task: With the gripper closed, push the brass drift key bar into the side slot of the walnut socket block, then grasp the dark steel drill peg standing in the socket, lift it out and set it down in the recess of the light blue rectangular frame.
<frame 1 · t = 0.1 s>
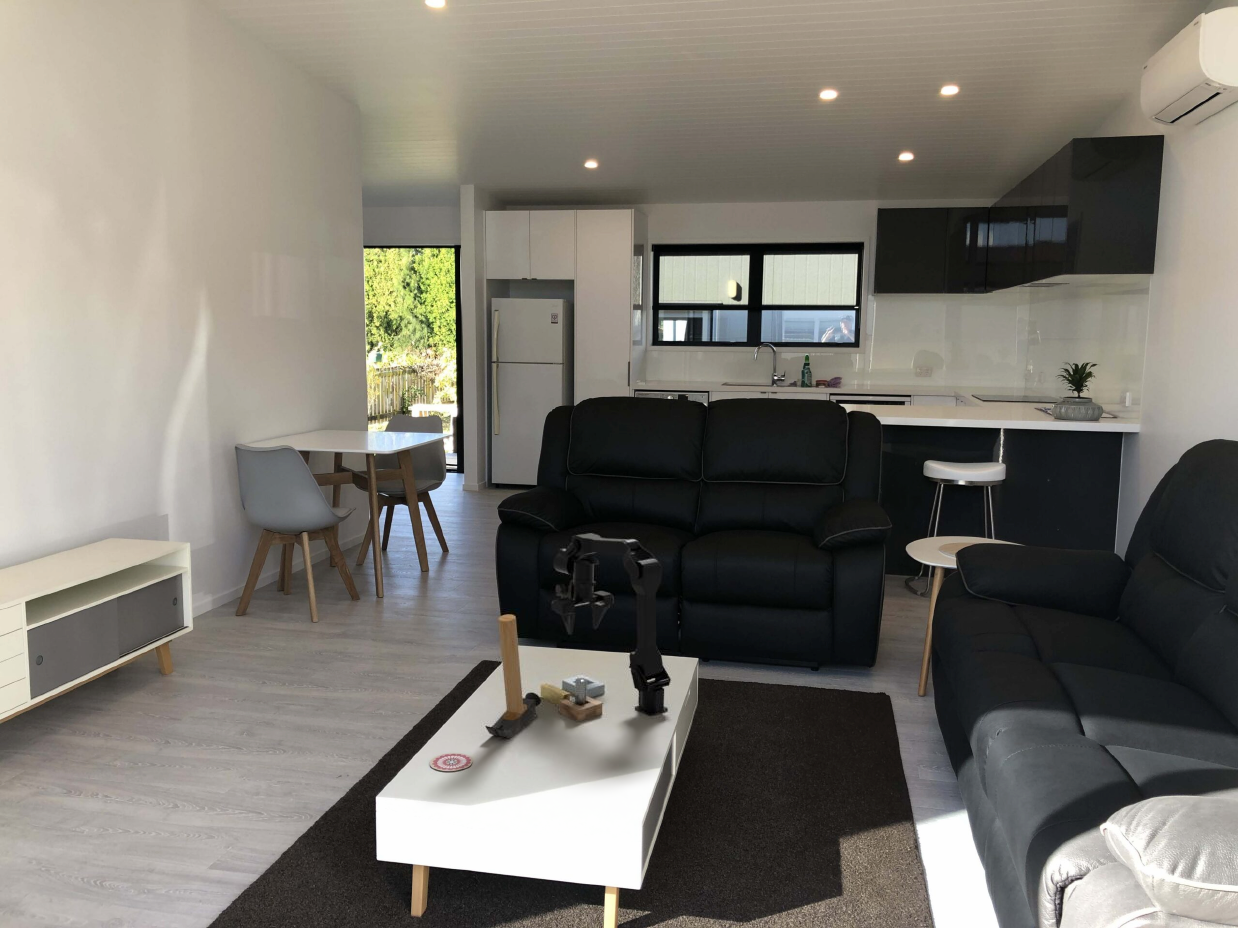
hand: (582, 631, 262), 15 cm above the table, fingers open, 9 cm apart
hammer: (514, 727, 230), on the table
drill peg: (580, 696, 239), in the socket block
light blue rectangular frame: (583, 690, 256), on the table
socket block: (580, 713, 240), on the table
drift key: (555, 695, 247), point 2 cm above the table, slide at 0.0 cm
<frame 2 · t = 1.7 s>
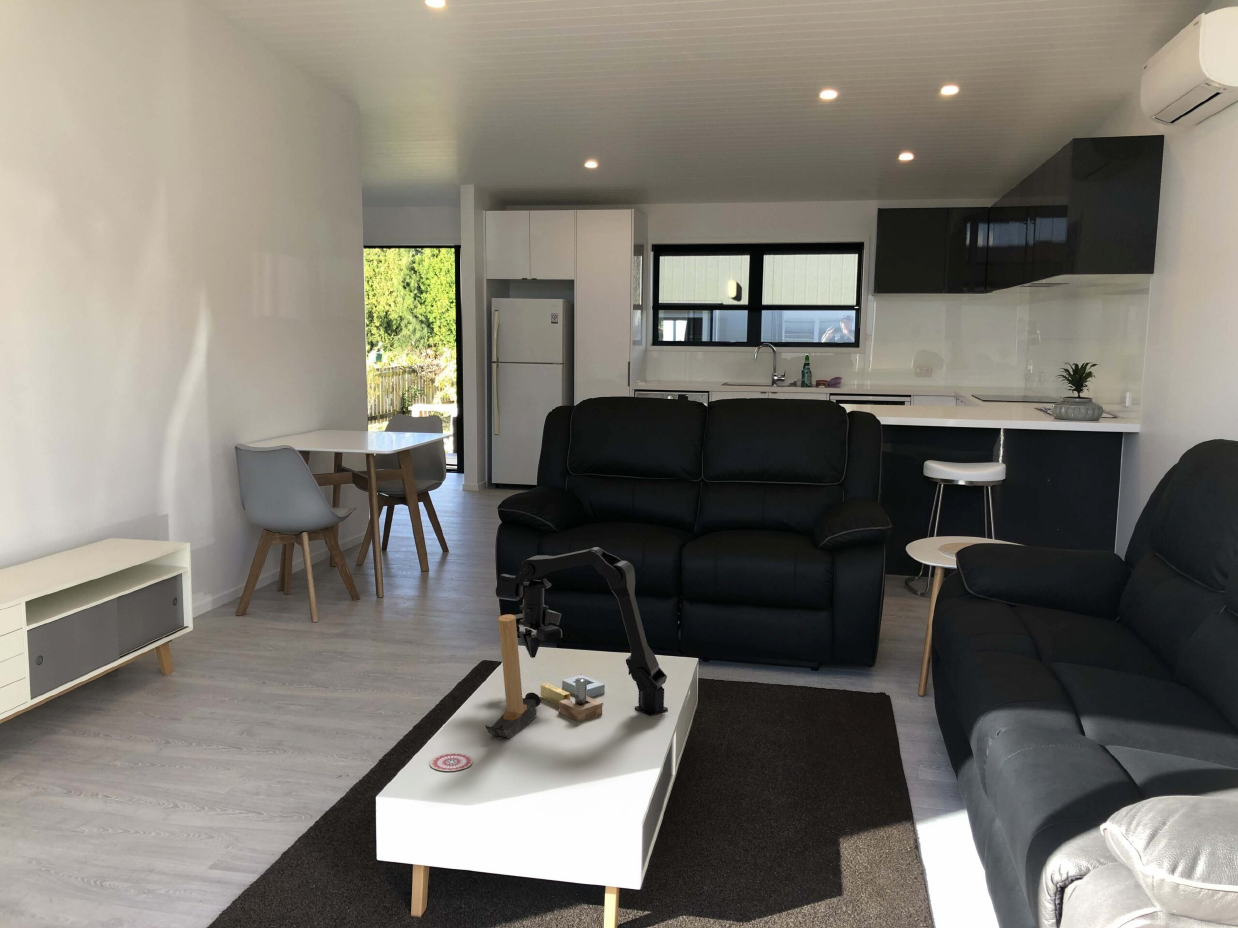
hand: (532, 657, 254), 10 cm above the table, fingers closed
nothing on the table moved.
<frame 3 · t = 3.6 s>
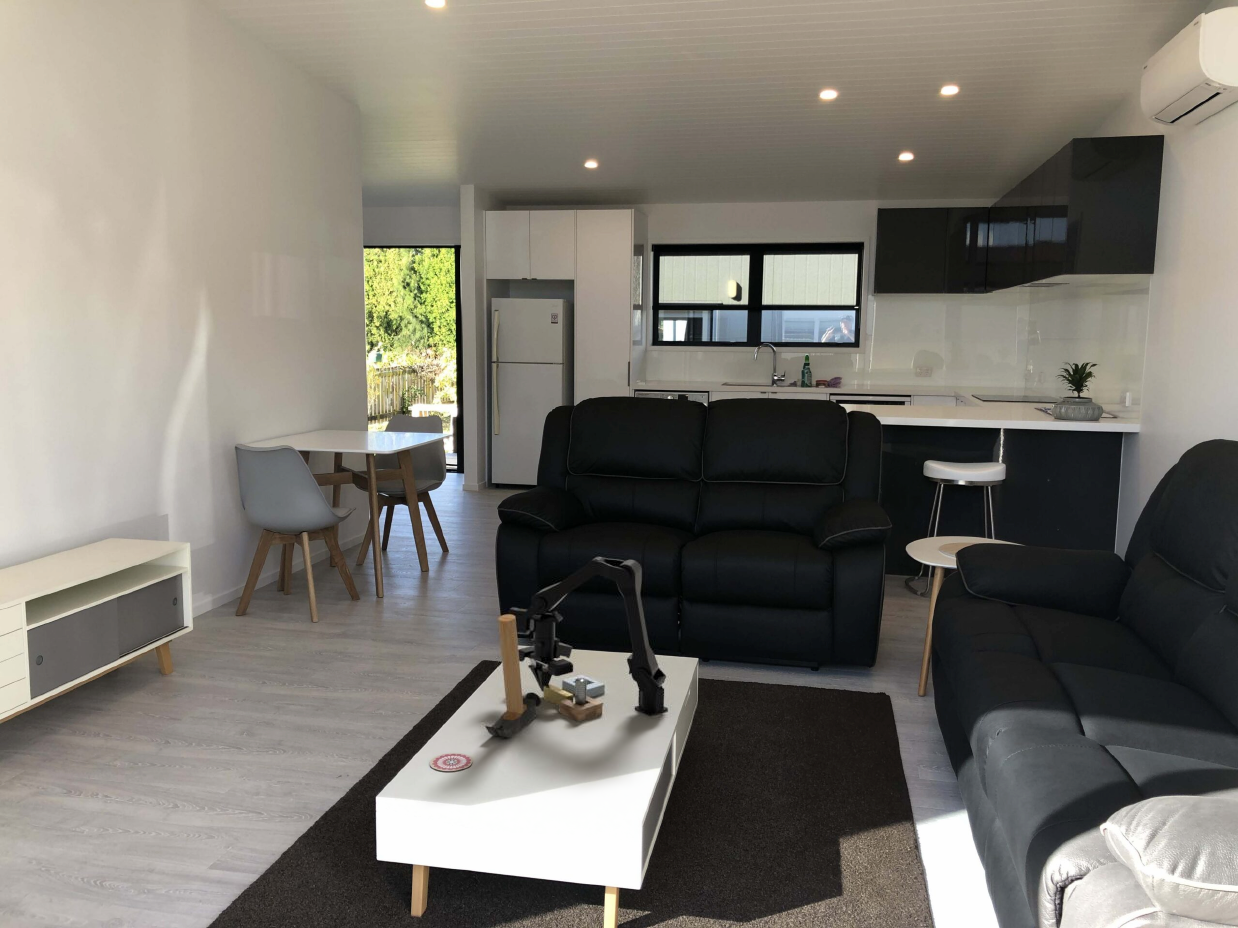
hand: (543, 691, 251), 1 cm above the table, fingers closed
drift key: (558, 696, 246), point 2 cm above the table, slide at 1.3 cm, touching gripper
everything else where it was.
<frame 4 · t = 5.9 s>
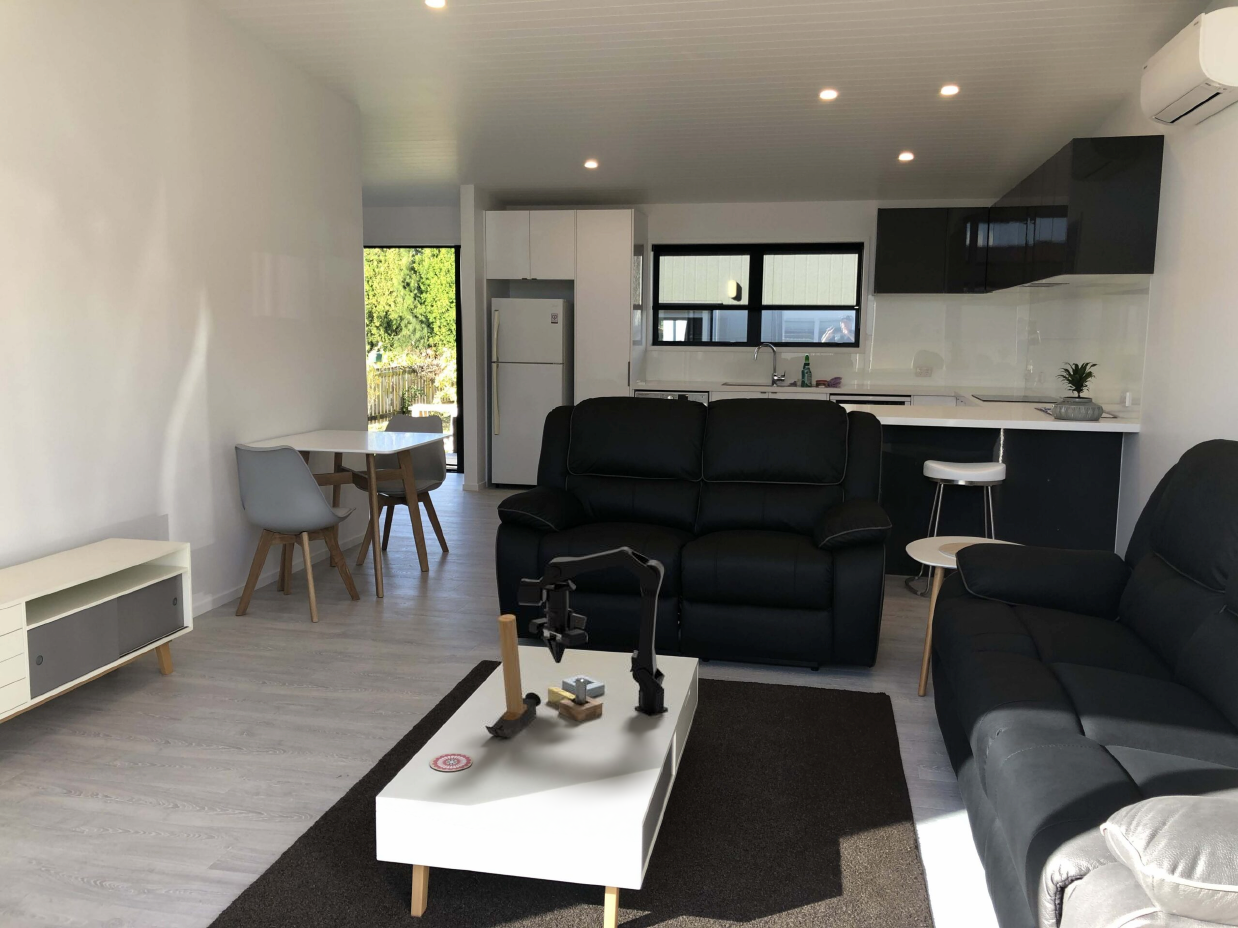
hand: (558, 662, 246), 11 cm above the table, fingers closed
drift key: (562, 698, 245), point 2 cm above the table, slide at 3.3 cm
everything else where it was.
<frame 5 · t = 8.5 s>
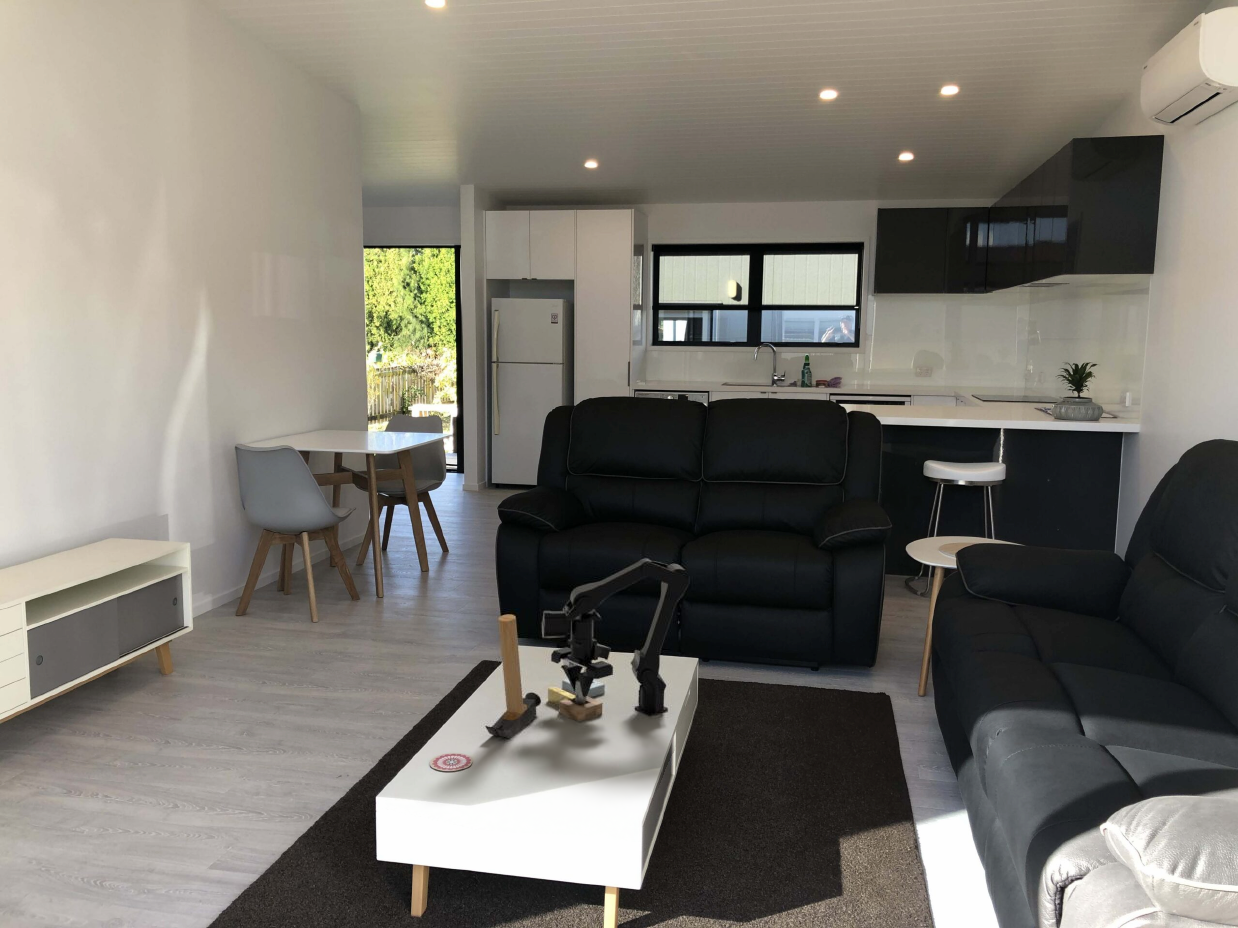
hand: (581, 694, 239), 5 cm above the table, fingers closed on drill peg, 3 cm apart
drill peg: (580, 696, 239), in the socket block, touching gripper
everything else where it was.
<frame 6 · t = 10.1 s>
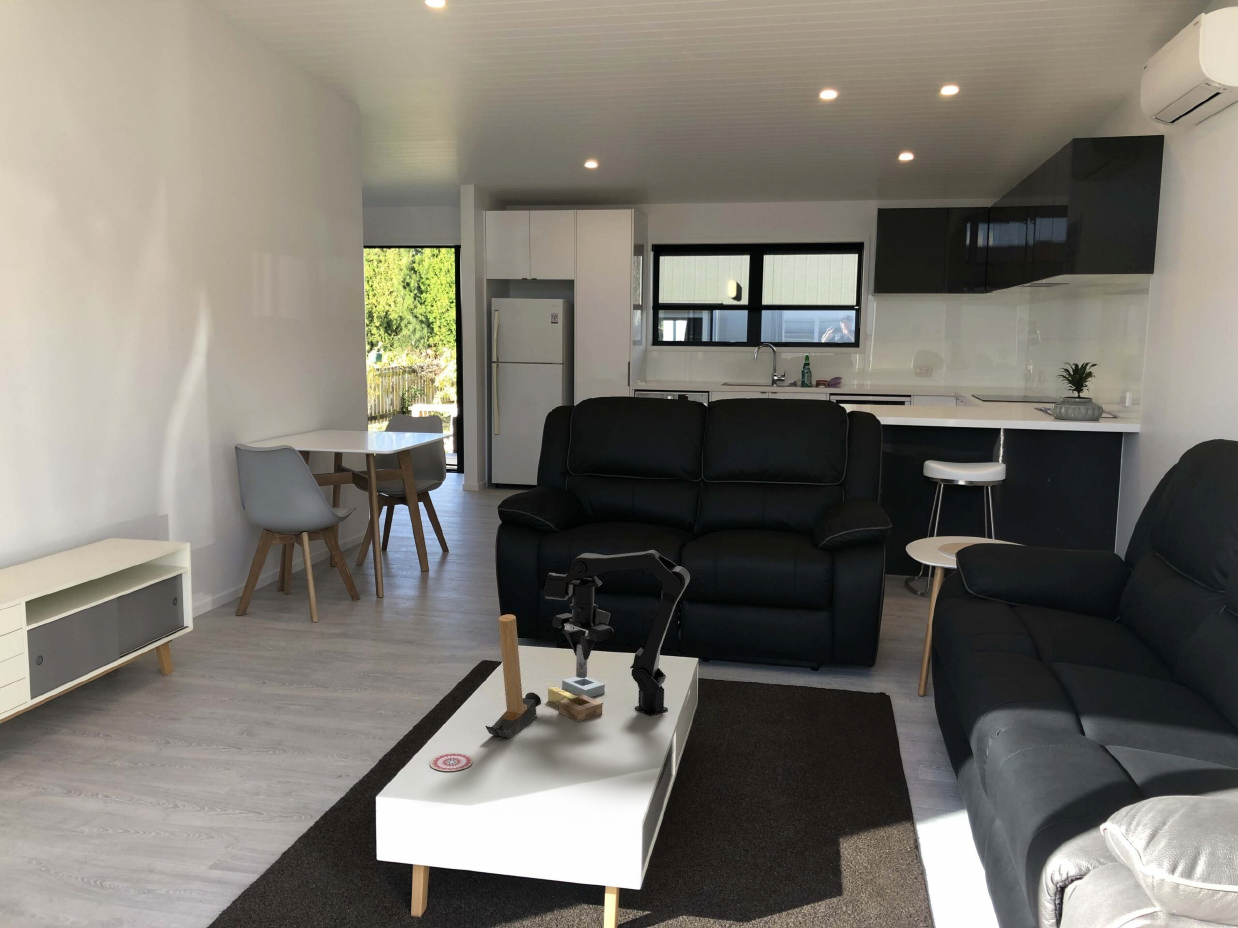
hand: (582, 657, 247), 12 cm above the table, fingers closed on drill peg, 3 cm apart
drill peg: (581, 659, 247), point 12 cm above the table, touching gripper
everything else where it was.
when the fingers open (7 cm above the table, at t = 11.8 s): drill peg drops 2 cm, resting in light blue rectangular frame.
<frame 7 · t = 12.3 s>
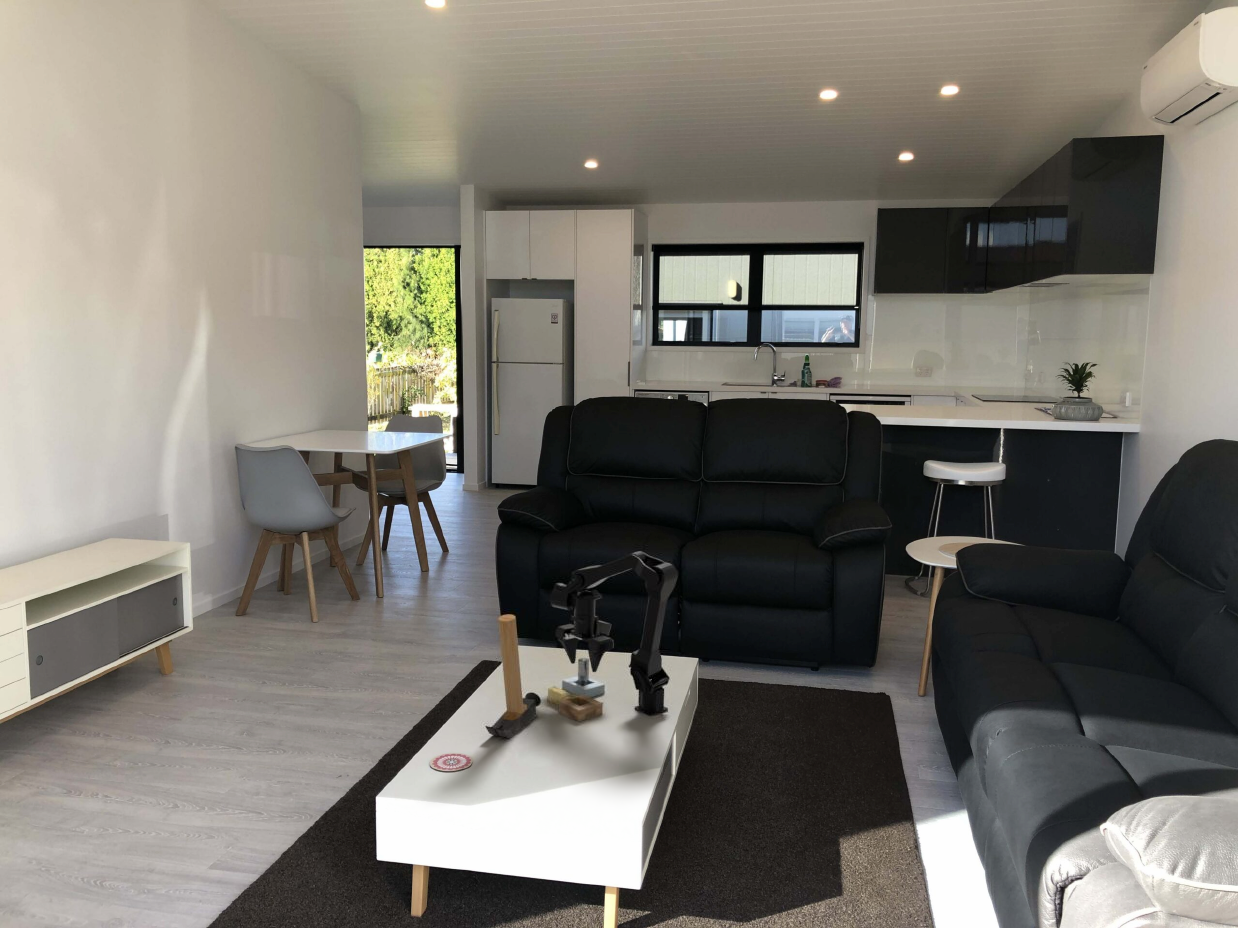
hand: (583, 667, 255), 7 cm above the table, fingers open, 9 cm apart
drill peg: (583, 675, 255), in the light blue rectangular frame
everything else where it was.
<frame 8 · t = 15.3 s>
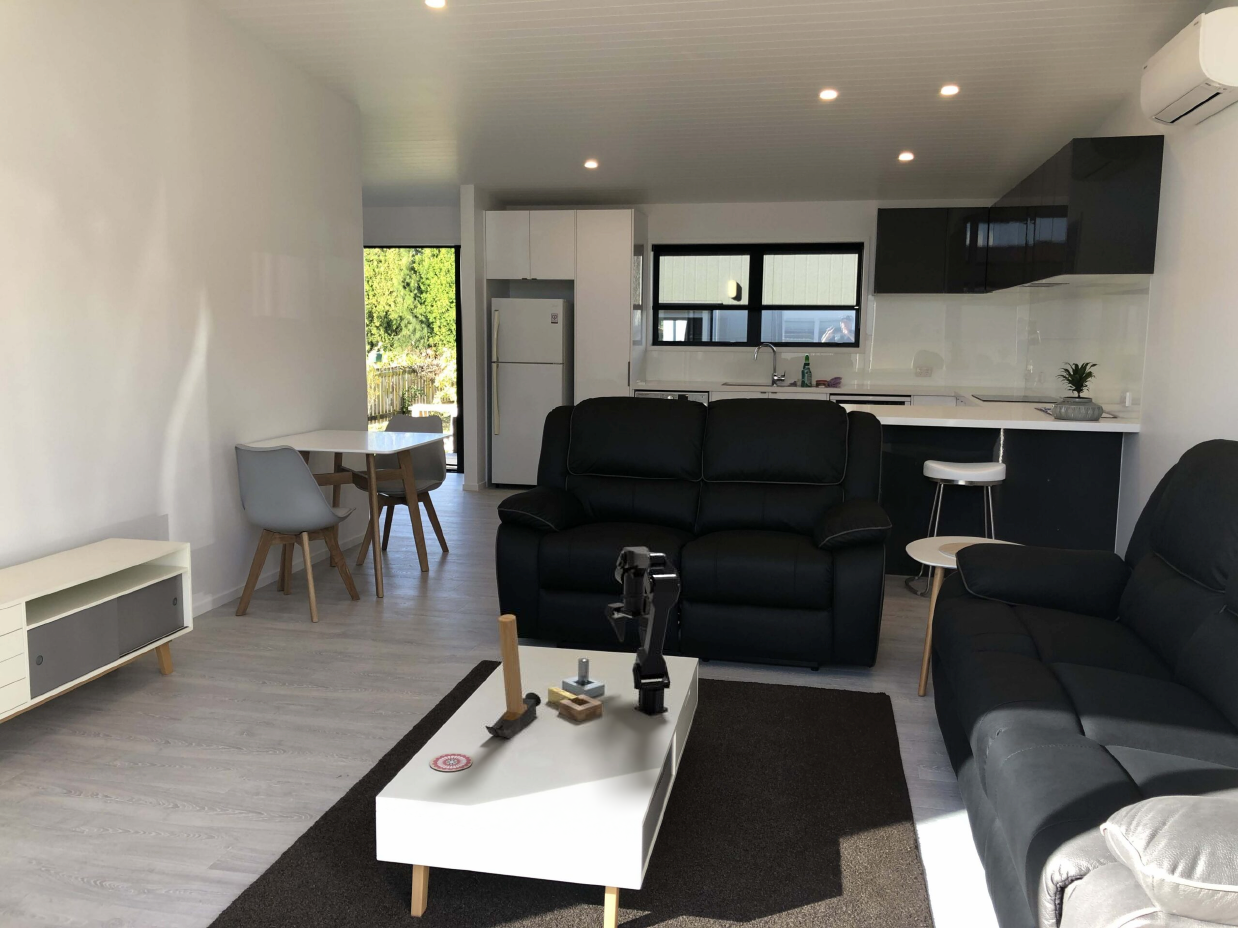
hand: (632, 645, 259), 12 cm above the table, fingers open, 9 cm apart
nothing on the table moved.
at the end: drift key slide at 3.3 cm; drill peg 0.1 cm off-centre on the light blue rectangular frame, point 4.5 cm above the light blue rectangular frame's base; the gripper is holding nothing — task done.
